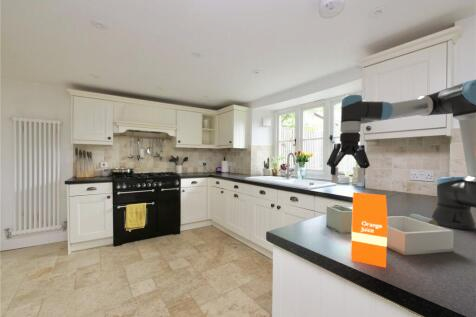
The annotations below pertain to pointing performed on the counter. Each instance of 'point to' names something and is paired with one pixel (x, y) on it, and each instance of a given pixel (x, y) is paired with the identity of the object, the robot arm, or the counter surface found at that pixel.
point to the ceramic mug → (423, 219)
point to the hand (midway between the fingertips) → (347, 183)
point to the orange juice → (369, 229)
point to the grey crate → (417, 236)
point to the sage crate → (339, 219)
